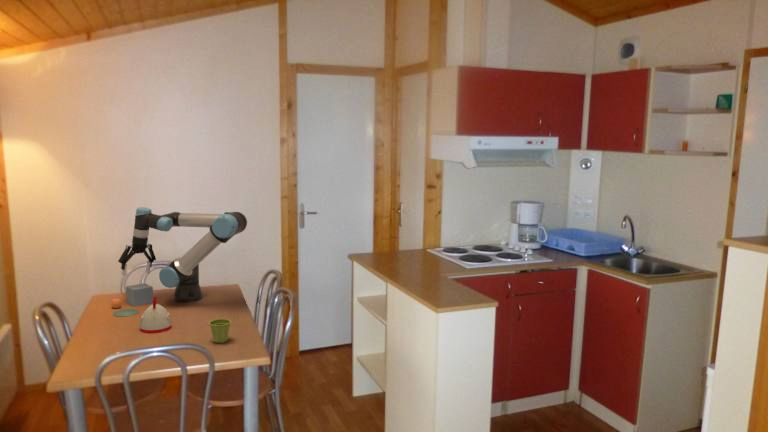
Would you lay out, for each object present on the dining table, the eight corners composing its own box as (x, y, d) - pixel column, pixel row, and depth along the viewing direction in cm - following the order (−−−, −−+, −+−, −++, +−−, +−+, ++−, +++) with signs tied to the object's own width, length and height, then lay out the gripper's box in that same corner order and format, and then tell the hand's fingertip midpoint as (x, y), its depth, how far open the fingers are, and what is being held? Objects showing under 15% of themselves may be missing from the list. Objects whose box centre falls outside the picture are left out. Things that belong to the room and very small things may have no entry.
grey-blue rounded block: (153, 302, 310) (152, 286, 309) (134, 306, 302) (133, 290, 301) (145, 298, 317) (144, 283, 316) (126, 302, 309) (125, 286, 308)
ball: (124, 306, 301) (123, 297, 300) (117, 309, 296) (117, 300, 296) (115, 306, 302) (115, 296, 302) (109, 308, 297) (108, 299, 297)
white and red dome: (137, 334, 260) (136, 302, 258) (142, 325, 274) (140, 294, 272) (170, 332, 264) (169, 301, 262) (172, 323, 277) (171, 293, 275)
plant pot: (205, 340, 255) (205, 321, 253) (224, 335, 261) (224, 317, 260) (215, 346, 248) (215, 326, 247) (235, 341, 254) (234, 322, 253)
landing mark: (144, 310, 295) (144, 310, 295) (128, 317, 284) (128, 317, 284) (123, 308, 298) (123, 308, 298) (107, 315, 287) (107, 315, 287)
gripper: (158, 233, 317) (153, 269, 321) (114, 235, 297) (109, 274, 301) (165, 237, 313) (160, 273, 316) (121, 239, 293) (116, 278, 296)
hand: (135, 274), depth 309 cm, fingers open, 13 cm apart
